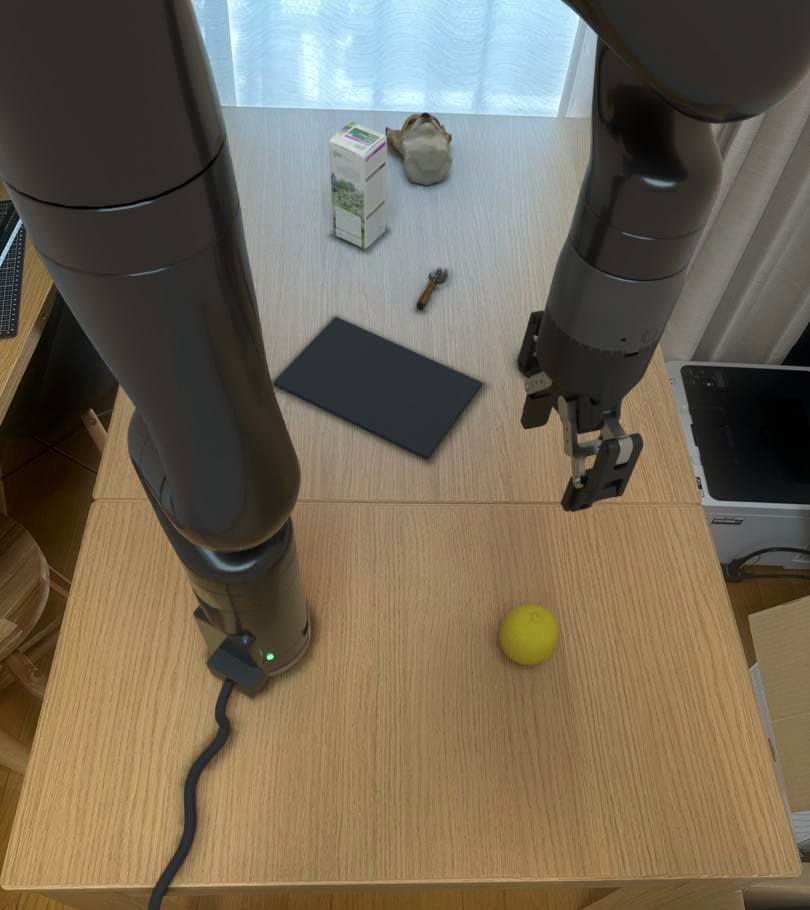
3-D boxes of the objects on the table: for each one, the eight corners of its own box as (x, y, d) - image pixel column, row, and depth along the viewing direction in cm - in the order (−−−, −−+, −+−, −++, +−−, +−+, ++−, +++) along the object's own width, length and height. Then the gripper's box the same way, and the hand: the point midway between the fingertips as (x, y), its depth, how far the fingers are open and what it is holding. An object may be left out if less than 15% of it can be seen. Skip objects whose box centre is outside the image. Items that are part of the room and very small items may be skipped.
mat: (427, 460, 87) (427, 457, 86) (273, 385, 92) (273, 381, 91) (482, 385, 93) (482, 382, 93) (335, 319, 99) (335, 316, 98)
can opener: (422, 311, 100) (423, 304, 99) (407, 305, 100) (407, 298, 99) (451, 273, 104) (452, 266, 103) (436, 267, 105) (437, 260, 104)
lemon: (546, 682, 73) (564, 649, 66) (490, 670, 73) (503, 637, 66) (551, 631, 76) (569, 595, 69) (498, 621, 76) (510, 584, 69)
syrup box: (386, 231, 109) (389, 133, 97) (364, 252, 106) (363, 154, 94) (354, 216, 110) (353, 118, 98) (331, 237, 108) (326, 139, 95)
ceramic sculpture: (397, 137, 106) (382, 89, 114) (395, 195, 113) (381, 146, 122) (470, 134, 107) (449, 87, 116) (463, 192, 114) (445, 143, 123)
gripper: (511, 242, 49) (479, 408, 63) (602, 398, 42) (543, 547, 56) (613, 226, 50) (560, 392, 64) (718, 374, 43) (633, 525, 57)
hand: (552, 464), depth 60 cm, fingers open, 8 cm apart
